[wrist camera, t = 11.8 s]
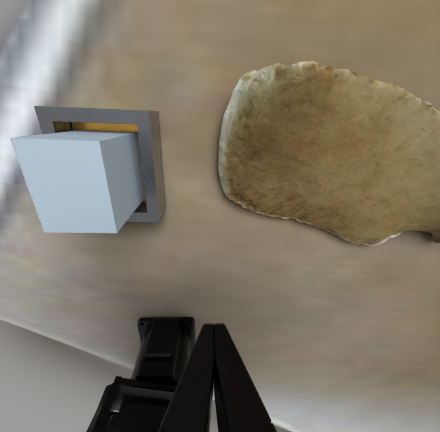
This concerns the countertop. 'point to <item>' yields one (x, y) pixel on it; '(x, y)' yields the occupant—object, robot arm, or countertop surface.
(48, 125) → the rack
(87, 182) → the pale blue upright block
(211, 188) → the countertop surface
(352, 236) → the stone tool
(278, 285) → the countertop surface
